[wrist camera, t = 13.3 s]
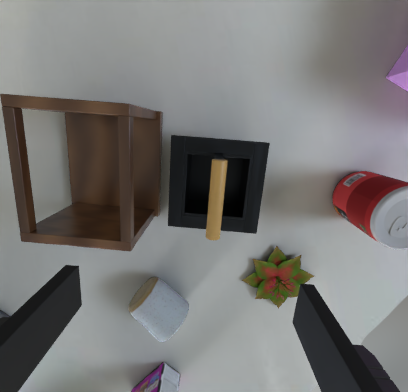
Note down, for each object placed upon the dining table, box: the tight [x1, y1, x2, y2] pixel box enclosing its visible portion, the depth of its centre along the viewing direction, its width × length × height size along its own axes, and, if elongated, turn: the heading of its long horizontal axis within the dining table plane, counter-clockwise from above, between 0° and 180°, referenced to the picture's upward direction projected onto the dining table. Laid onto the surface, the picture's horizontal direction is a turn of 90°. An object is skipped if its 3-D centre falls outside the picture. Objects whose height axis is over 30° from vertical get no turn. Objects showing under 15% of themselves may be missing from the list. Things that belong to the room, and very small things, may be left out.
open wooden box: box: [0, 94, 163, 251], centre depth 33 cm, size 14×16×13 cm
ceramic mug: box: [129, 277, 189, 342], centre depth 42 cm, size 11×8×8 cm
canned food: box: [332, 171, 408, 250], centre depth 33 cm, size 8×8×11 cm
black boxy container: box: [168, 135, 270, 240], centre depth 32 cm, size 12×12×14 cm
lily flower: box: [242, 246, 314, 308], centre depth 41 cm, size 12×12×5 cm
